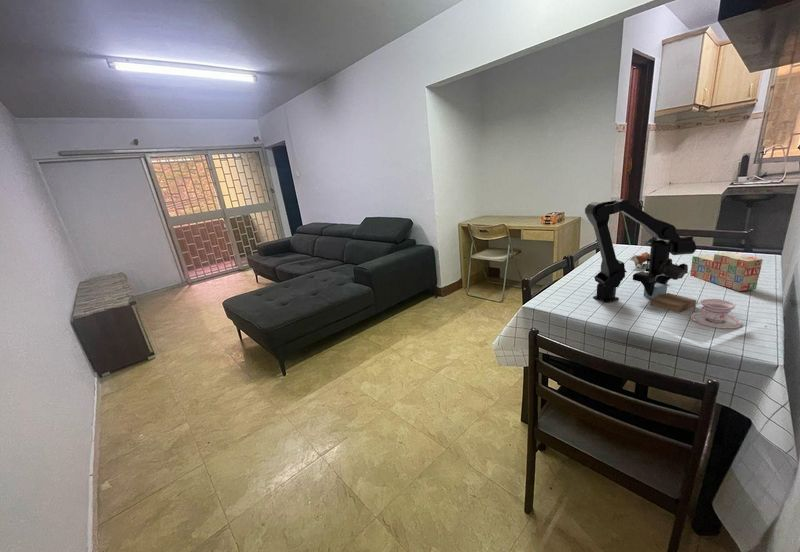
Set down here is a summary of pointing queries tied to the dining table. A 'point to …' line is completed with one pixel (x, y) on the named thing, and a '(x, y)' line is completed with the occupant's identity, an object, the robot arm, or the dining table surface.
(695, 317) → the teacup
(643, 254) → the bull figurine
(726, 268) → the stack of blocks
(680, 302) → the walnut block
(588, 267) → the dining table surface
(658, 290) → the slate cube
